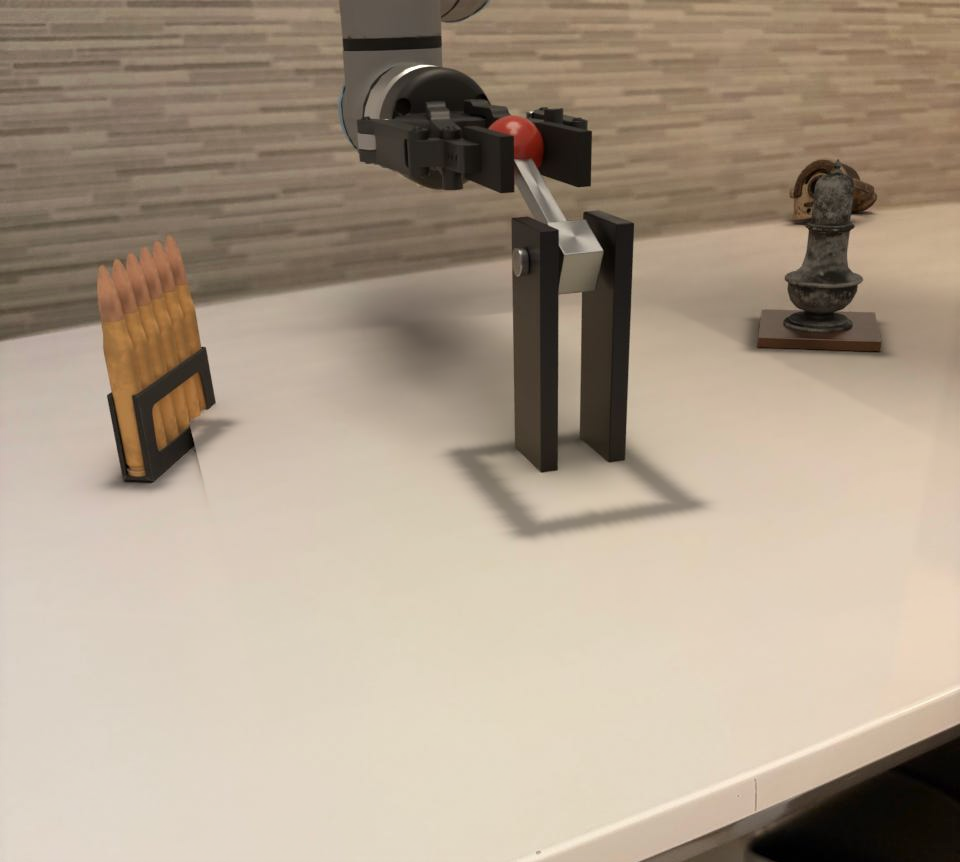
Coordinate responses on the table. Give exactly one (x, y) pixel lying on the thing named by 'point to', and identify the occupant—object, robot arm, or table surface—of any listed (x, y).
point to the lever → (552, 209)
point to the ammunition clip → (152, 360)
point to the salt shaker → (825, 260)
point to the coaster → (819, 333)
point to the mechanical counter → (807, 182)
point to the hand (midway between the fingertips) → (546, 162)
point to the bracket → (599, 340)
